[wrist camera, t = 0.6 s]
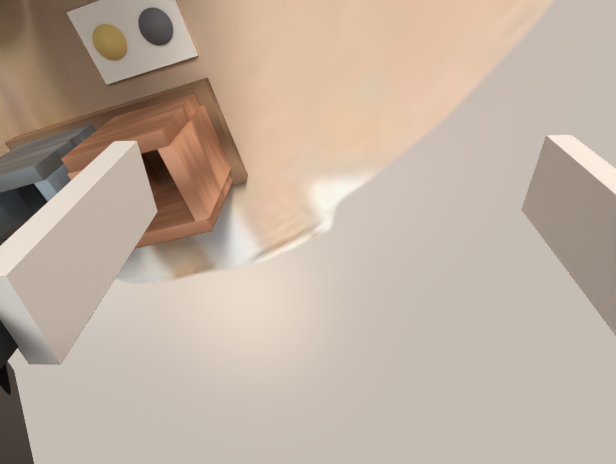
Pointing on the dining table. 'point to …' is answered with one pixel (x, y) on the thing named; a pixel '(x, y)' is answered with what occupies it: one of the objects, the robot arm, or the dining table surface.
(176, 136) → the desk organizer
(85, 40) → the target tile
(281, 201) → the dining table surface
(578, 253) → the robot arm
